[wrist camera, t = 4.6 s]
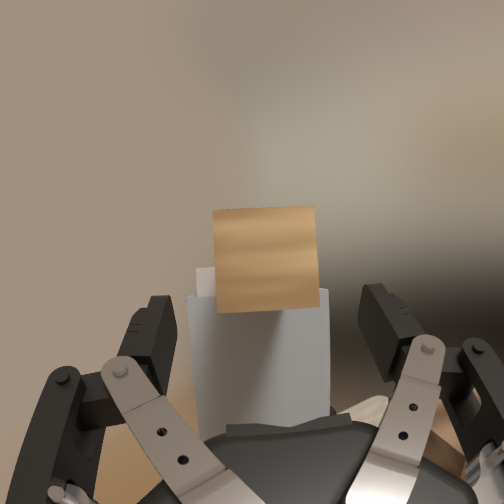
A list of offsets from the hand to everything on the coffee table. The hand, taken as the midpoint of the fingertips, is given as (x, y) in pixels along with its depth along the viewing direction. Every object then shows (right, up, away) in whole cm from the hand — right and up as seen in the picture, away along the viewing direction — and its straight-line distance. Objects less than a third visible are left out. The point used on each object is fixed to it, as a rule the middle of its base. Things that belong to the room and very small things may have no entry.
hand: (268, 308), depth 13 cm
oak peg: (0, -1, +12) cm, 12 cm away
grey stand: (+1, -33, +14) cm, 36 cm away
